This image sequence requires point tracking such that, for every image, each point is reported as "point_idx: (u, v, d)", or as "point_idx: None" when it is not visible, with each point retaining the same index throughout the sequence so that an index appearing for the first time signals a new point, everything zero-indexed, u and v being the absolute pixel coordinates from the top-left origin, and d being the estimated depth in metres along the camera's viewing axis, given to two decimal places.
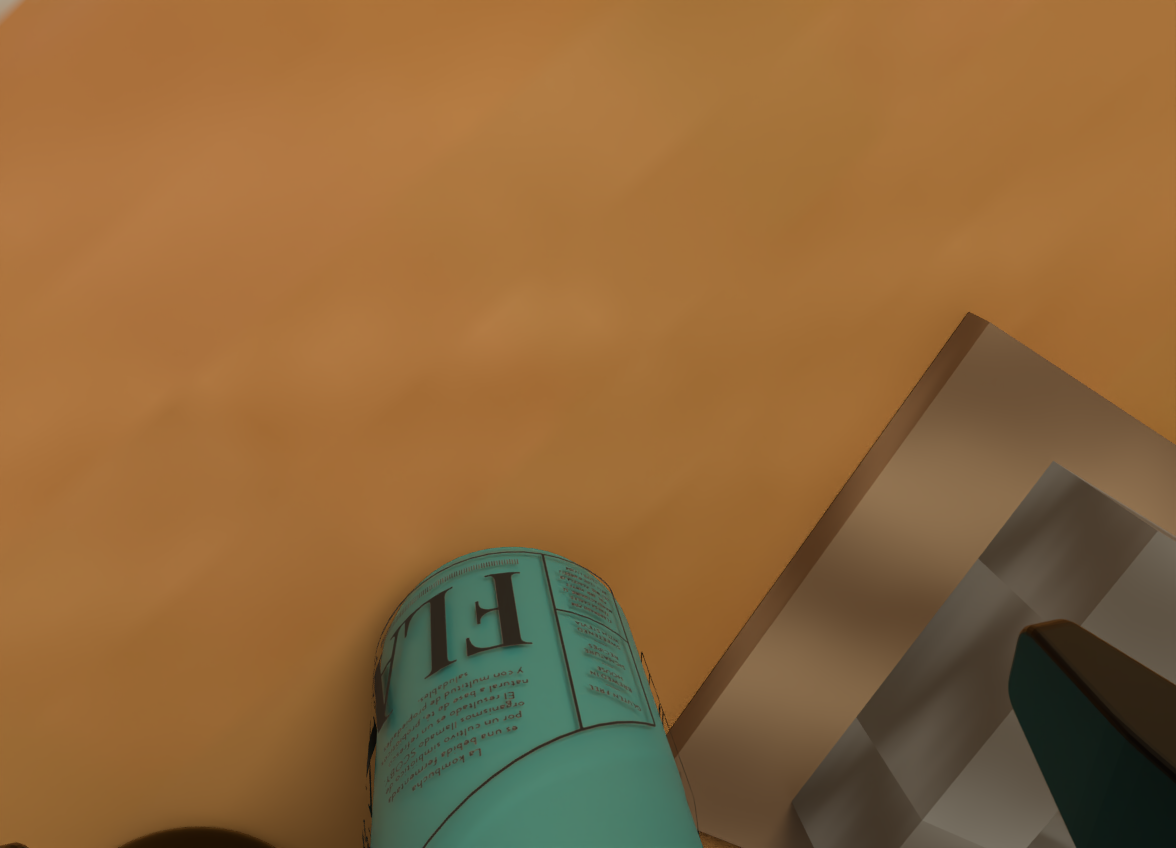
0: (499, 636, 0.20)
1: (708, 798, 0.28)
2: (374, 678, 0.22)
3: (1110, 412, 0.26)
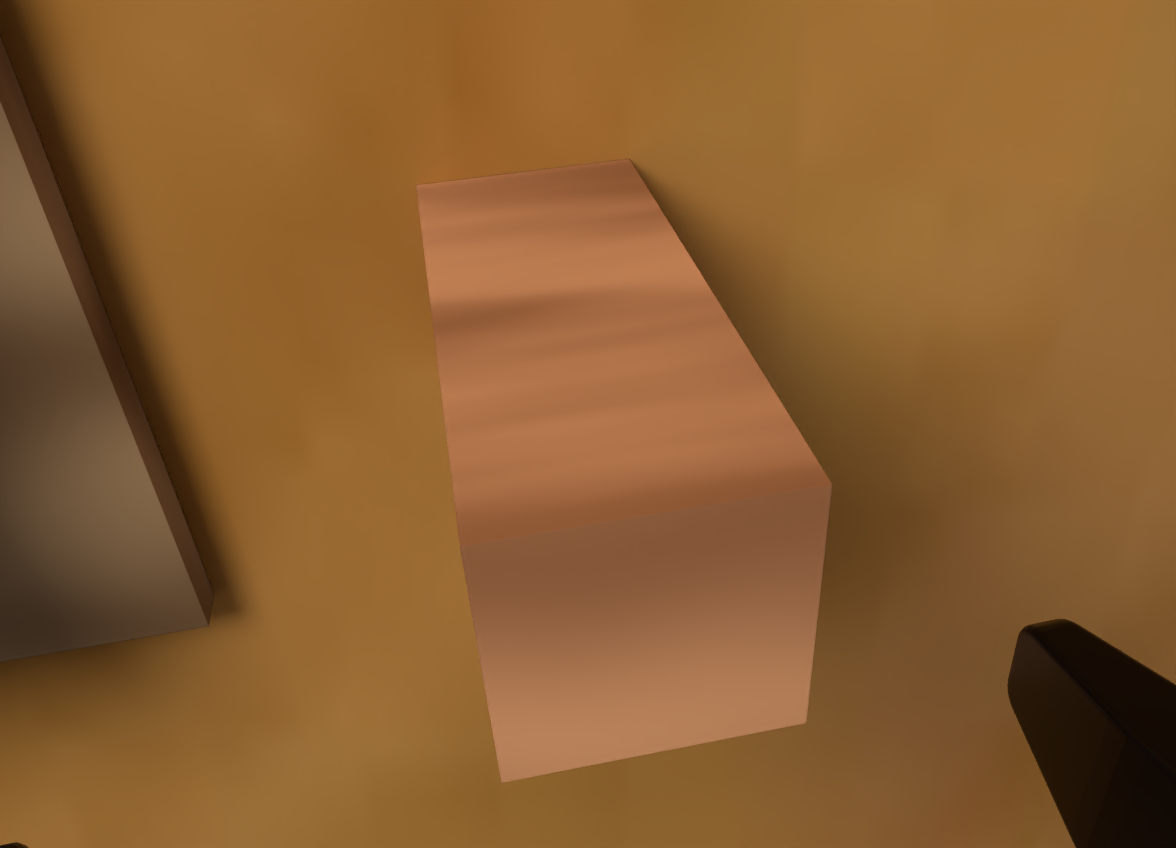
0: None
1: None
2: None
3: None
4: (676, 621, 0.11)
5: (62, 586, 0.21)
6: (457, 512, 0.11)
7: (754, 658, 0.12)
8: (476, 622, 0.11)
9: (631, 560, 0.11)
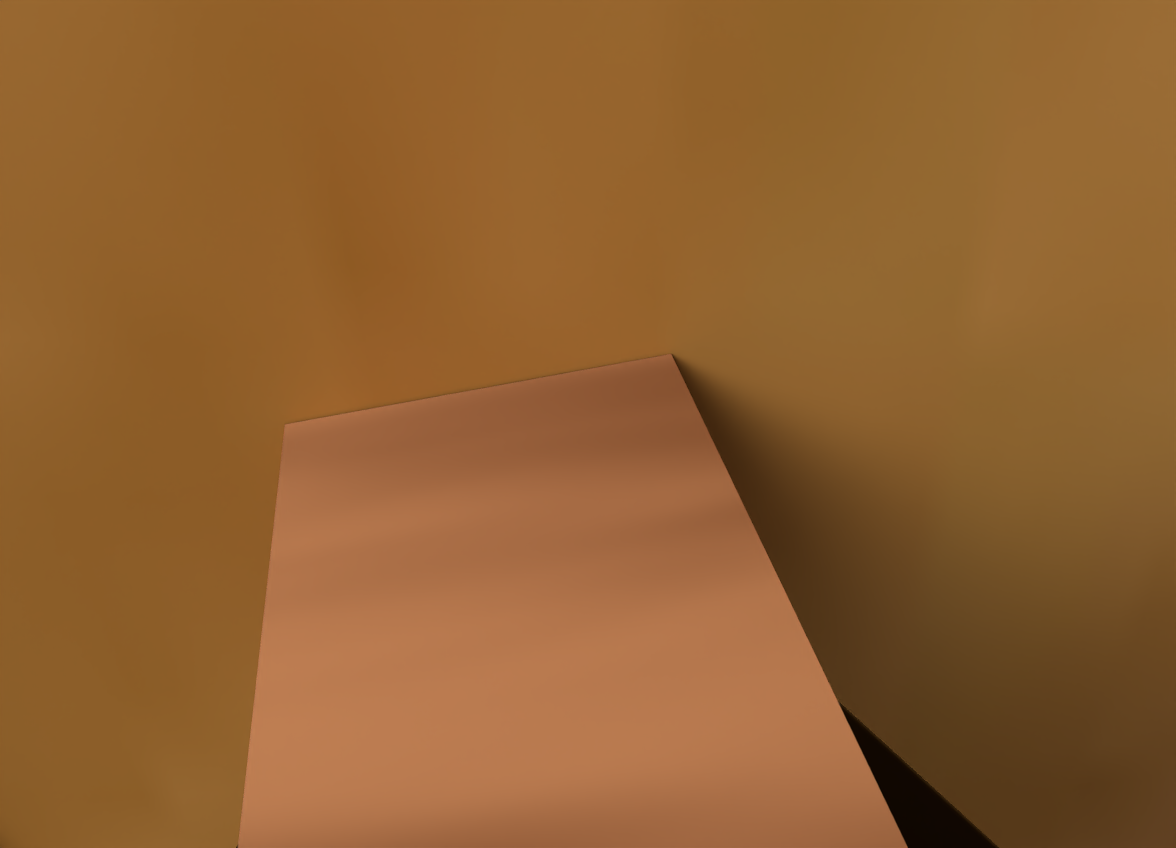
0: None
1: None
2: None
3: None
4: None
5: None
6: None
7: None
8: None
9: None
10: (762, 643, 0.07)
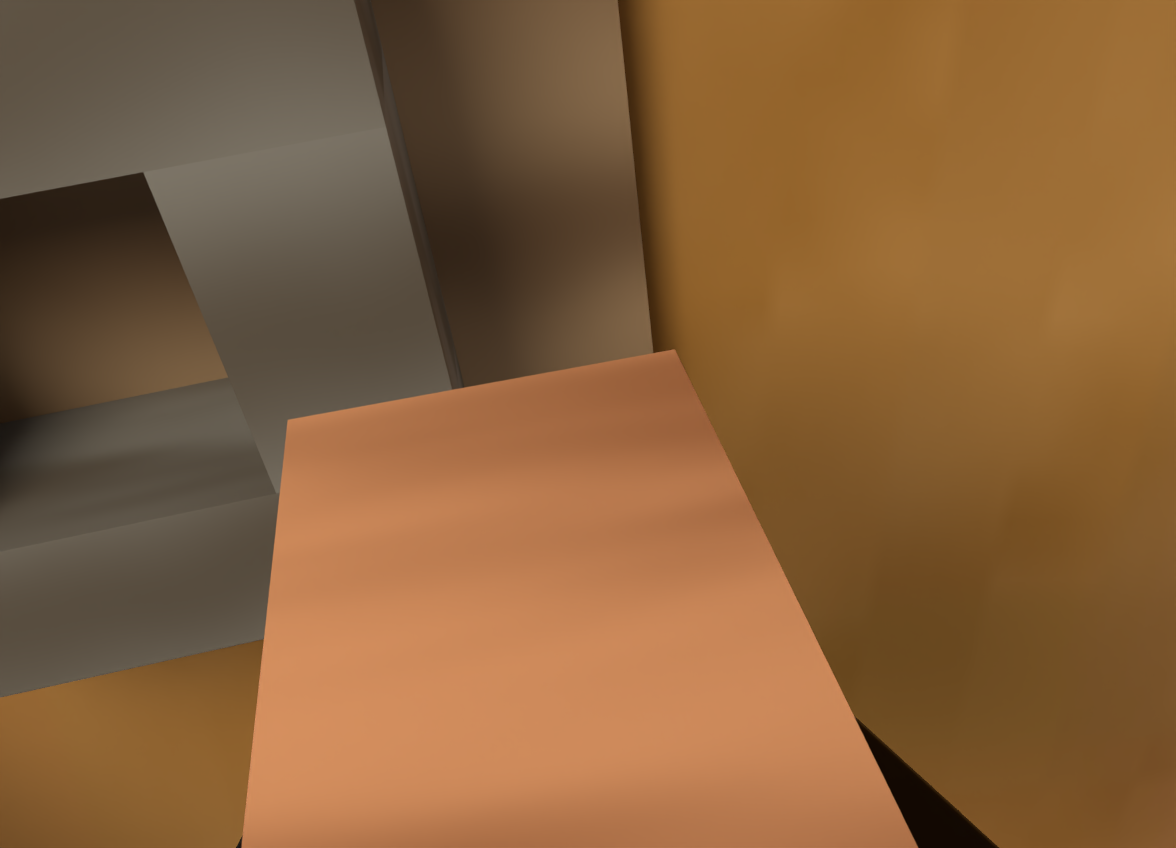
0: None
1: None
2: None
3: None
4: None
5: None
6: None
7: None
8: None
9: None
10: (767, 638, 0.07)
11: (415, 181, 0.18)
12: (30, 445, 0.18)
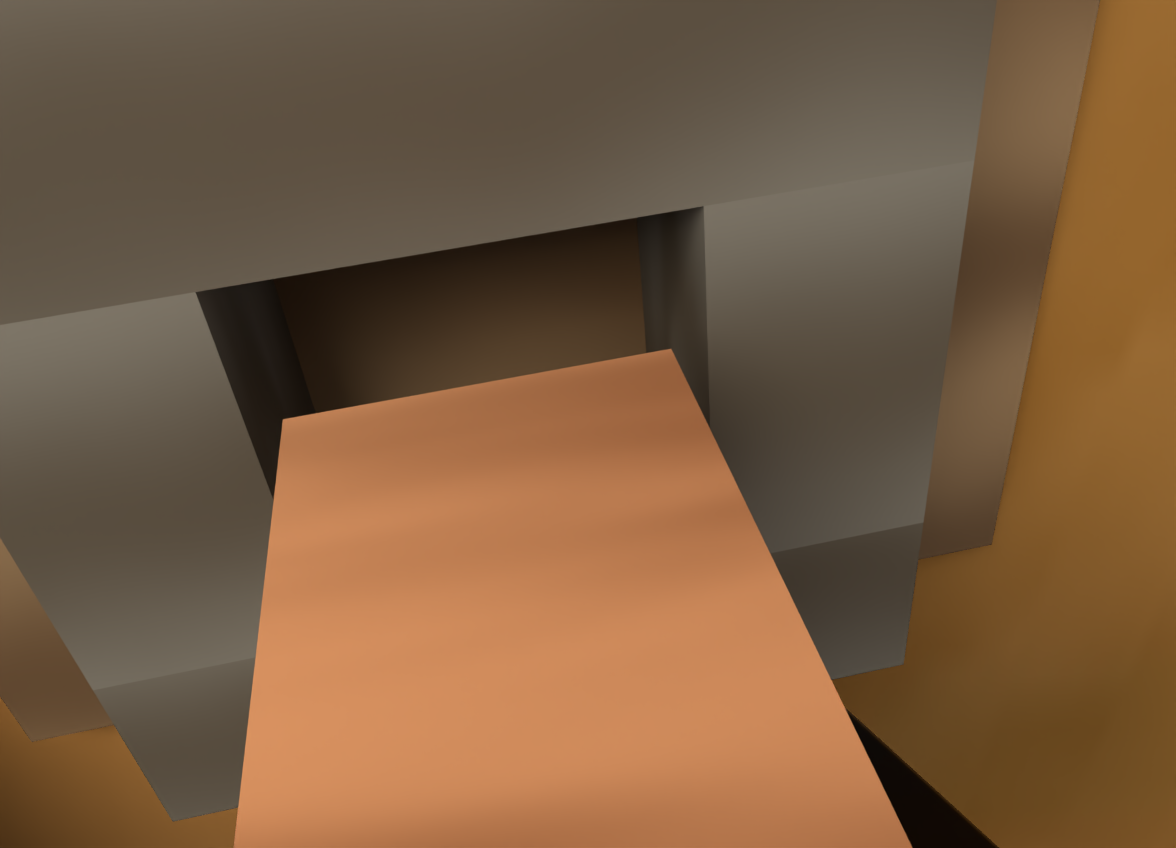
0: None
1: None
2: None
3: None
4: None
5: None
6: None
7: None
8: None
9: None
10: (763, 638, 0.07)
11: None
12: None
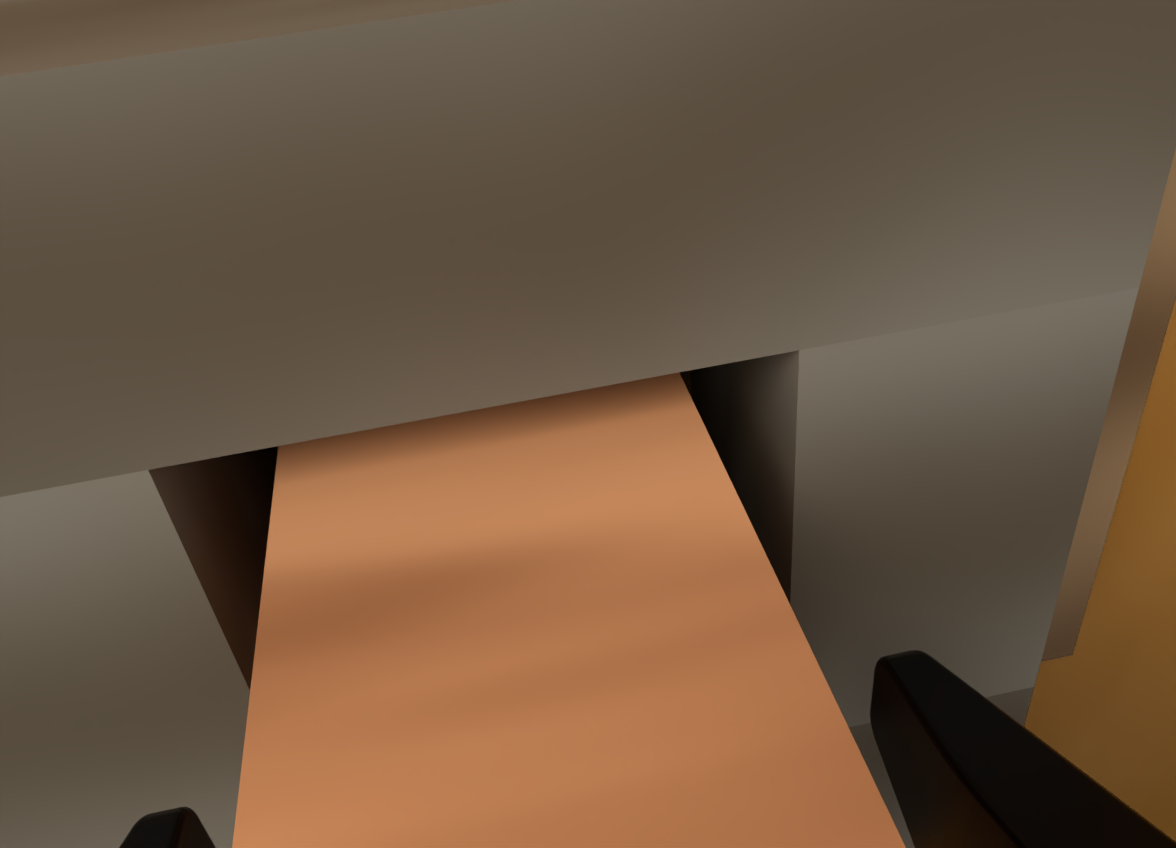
0: None
1: None
2: None
3: None
4: None
5: None
6: None
7: None
8: None
9: None
10: (674, 440, 0.09)
11: None
12: None
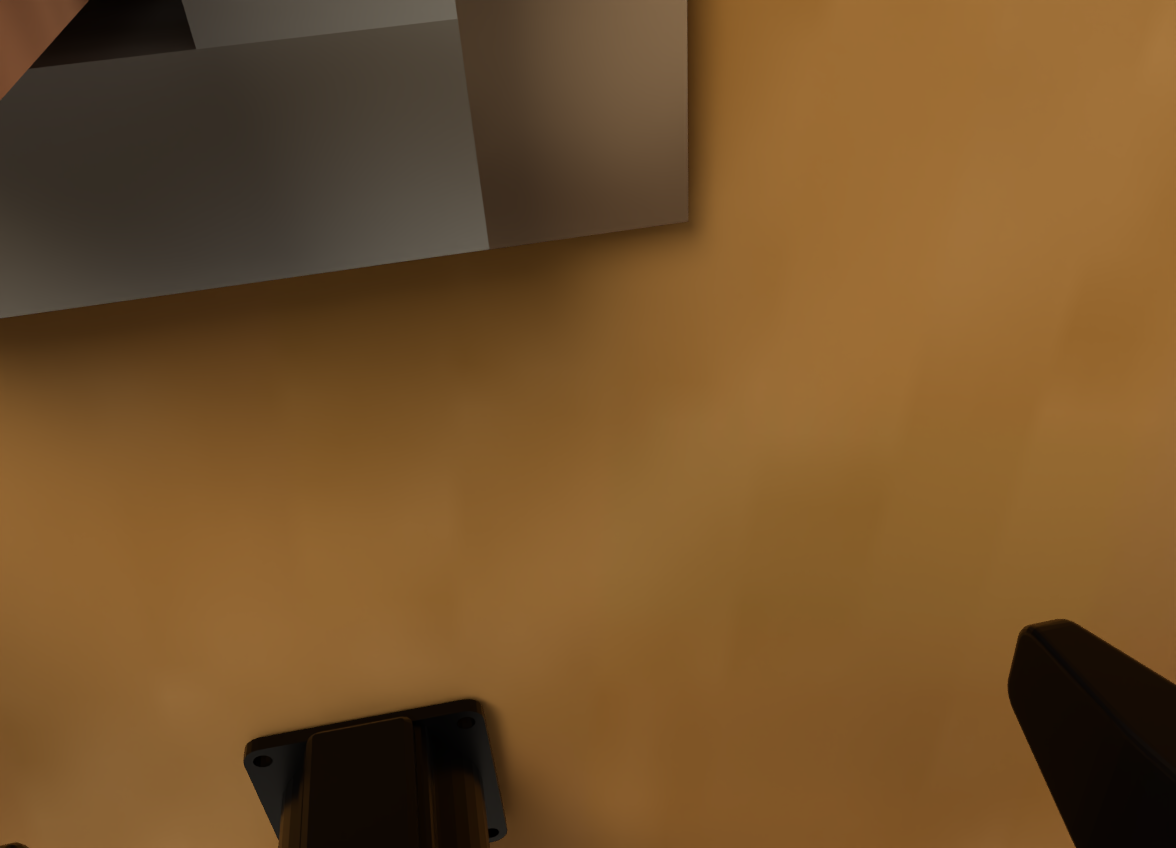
0: None
1: None
2: None
3: None
4: None
5: (554, 147, 0.18)
6: None
7: None
8: None
9: None
10: None
11: None
12: None
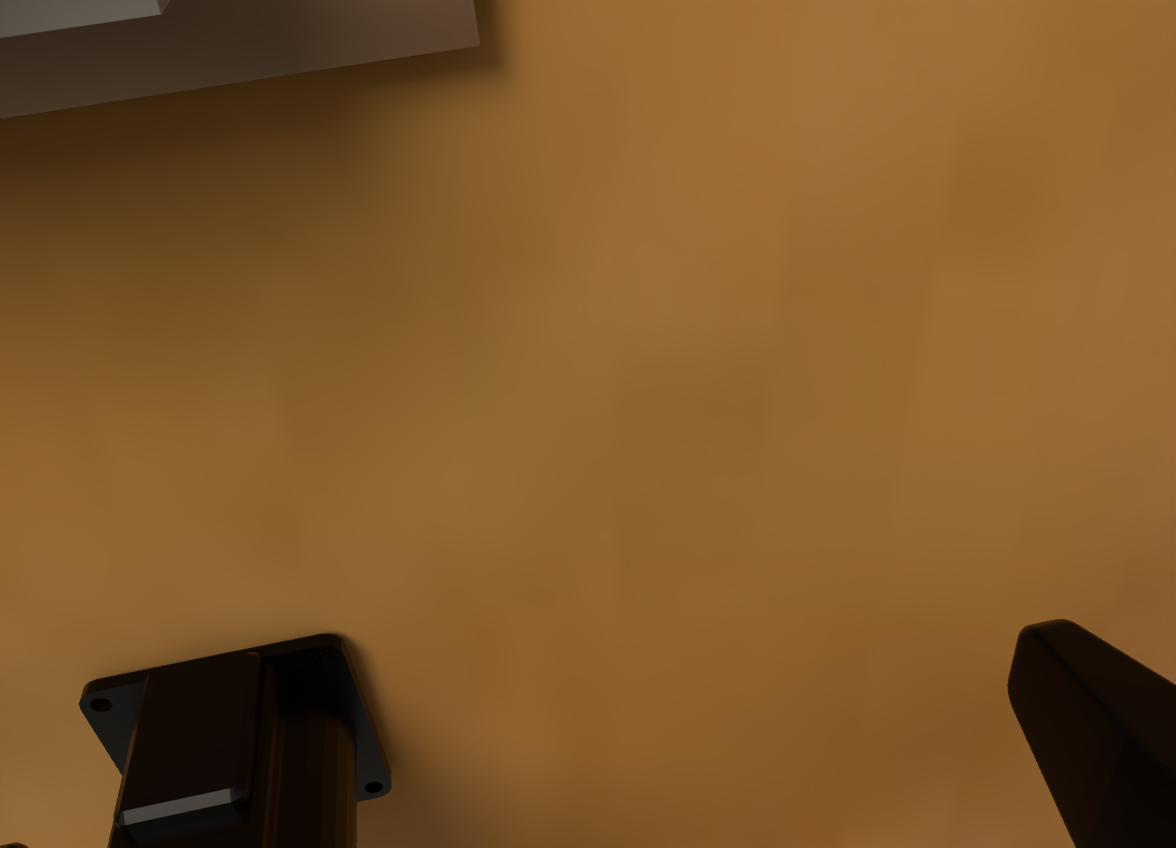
0: None
1: None
2: None
3: None
4: None
5: None
6: None
7: None
8: None
9: None
10: None
11: None
12: None
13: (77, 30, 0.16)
